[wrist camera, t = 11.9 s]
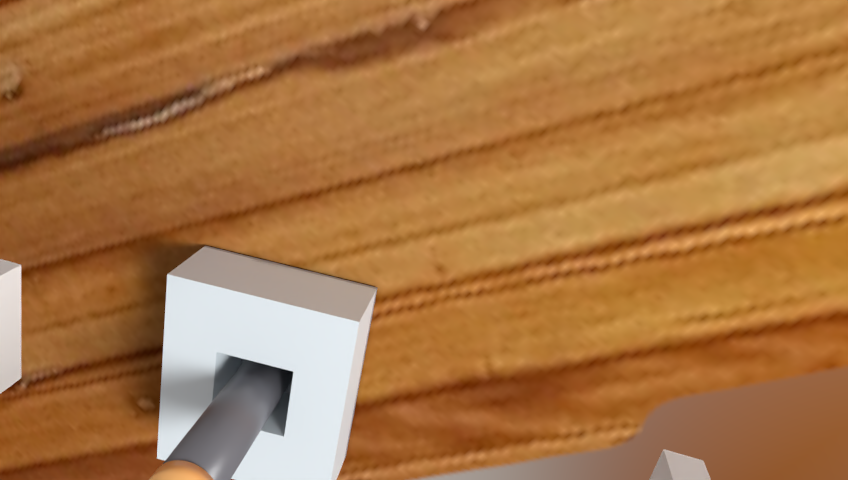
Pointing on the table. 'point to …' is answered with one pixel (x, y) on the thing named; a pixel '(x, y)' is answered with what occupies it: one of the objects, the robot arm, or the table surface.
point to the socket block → (266, 356)
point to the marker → (227, 425)
